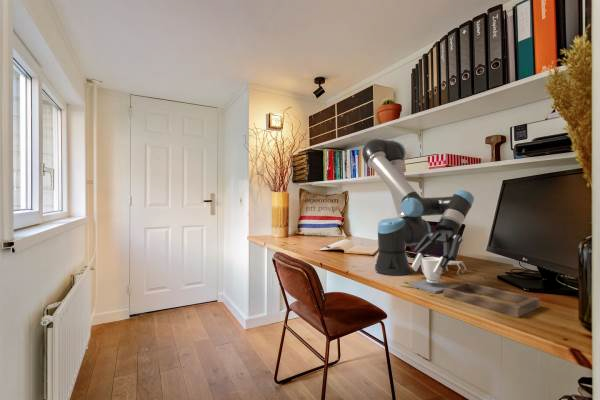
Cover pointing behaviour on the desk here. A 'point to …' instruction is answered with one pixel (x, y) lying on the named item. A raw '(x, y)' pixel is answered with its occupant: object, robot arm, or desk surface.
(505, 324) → the desk surface
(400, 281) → the desk surface
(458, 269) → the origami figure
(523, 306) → the tray
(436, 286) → the grey mat
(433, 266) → the cup
